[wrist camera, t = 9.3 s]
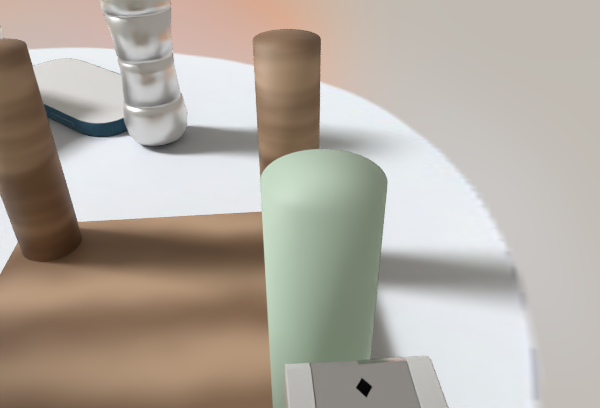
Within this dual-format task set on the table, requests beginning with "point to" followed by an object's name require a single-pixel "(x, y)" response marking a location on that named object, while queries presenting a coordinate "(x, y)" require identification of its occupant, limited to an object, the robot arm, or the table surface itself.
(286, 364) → the robot arm
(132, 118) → the plastic bottle
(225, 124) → the table surface
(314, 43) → the stool
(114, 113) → the external hard drive
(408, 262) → the table surface
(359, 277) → the green piece
